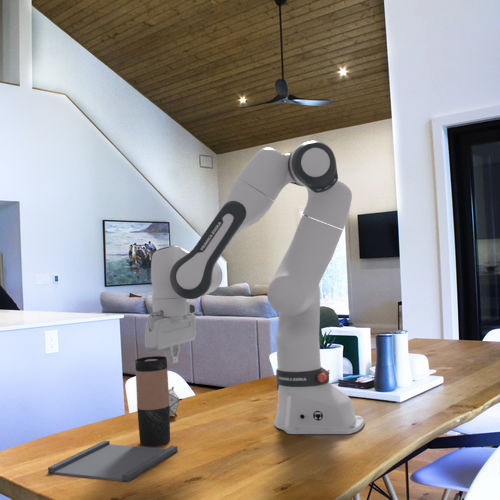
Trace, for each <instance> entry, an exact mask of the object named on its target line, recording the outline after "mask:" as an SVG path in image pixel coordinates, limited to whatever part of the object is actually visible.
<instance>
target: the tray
mask: <svg viewBox="0 0 500 500" xmlns="http://www.w3.org/2000/svg"><path fill="white" fill-rule="evenodd" d="M177 452H178V446H177V445H170V446H169V447H167V448H161V447H158V448H157V447H145V446H134V445H125V444H124V445H123V444H111V443H110V440H102V441H100V442H99V443H96V444H94V445H92V446H90V447H88V448H86V449H84V450H82V451H80V452H78V453H76V454H74V455H71V456H69V457H67V458H65V459H63V460H61V461H58V462H56V463H54V464H53V465H50V466H48V467H47V471H48V472H47V473H48V474H50V475H51V474H52V475H59V476H60V475H61V476H69V477H79V478H80V477H81V478H88V479H89V478H90V479H98V480H107V481H118V482H124V483H125V482H126V483H130V482H131V481H132V480H134V479H136V478H137V477H139V476H141V475H142V474H144V473H145V472H147V471H149V470H150V469H152V468H154V467H156V465H158V464H159V463H161V462H163V461H164V460H167V458H170V457H171V456H173V455H174V454H177Z"/></svg>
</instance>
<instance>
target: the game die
mask: <svg viewBox="0 0 500 500" xmlns="http://www.w3.org/2000/svg"><path fill="white" fill-rule="evenodd" d="M168 389H169V407H170V416H175V417H178V415H177V414H176V412H177V409H178V407H179V403H180V401H182V400H183V398H179V396H178V395H177V394H176V392H175V390H174V389H175V387H174V386H172V387H171V388H168Z"/></svg>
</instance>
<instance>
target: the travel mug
mask: <svg viewBox="0 0 500 500" xmlns="http://www.w3.org/2000/svg"><path fill="white" fill-rule="evenodd" d="M134 362H135V386H136V388H135V389H136V410H137V423H138V424H137V425H138V432H139V433H138V434H139V444H140V446H141V447H149V448H157V447H161V446H165V445H167V444H170V442H171V423H170V422H171V420H170V419H171V417H170V416H171V415H170V407H169V389H170V388H169V375H168V374H169V372H168V364H167V358H166V356H161V355H159V356H158V355H156V356H155V355H154V356H153V355H152V356H145V357H139V358H137V359H135V360H134Z"/></svg>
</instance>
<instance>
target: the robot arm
mask: <svg viewBox="0 0 500 500" xmlns="http://www.w3.org/2000/svg"><path fill="white" fill-rule="evenodd" d="M289 184H292V185H296V186H300V187H305V188H306V190H307V194H308V195H307V202H306V205H305V207H304V209H303V212H302V214H301V217H300V220H299V222H298V225H297V228H296V230H295V232H294V235H293V238H292V240H291V242H290V245H289V246H288V248H287V250H286V252H285V254H284V255H283V258H282V260H281V261H280V263H279V266H278V268H276V269H277V270H276V272H275V273H274V275H273V278H272V280H271V282H270V284H269V286H268V288H267V293H266V295H267V301H268V303H269V305H270V306H271V308H272V309H273V310H274V311H275V312H276V313H278V322H277V331H276V336H275V342H276V343H275V344H276V346H275V347H276V361H277V363H276V364H277V369H276V371H275V373H276V374H275V381H276V382H275V383H276V384H275V385H276V391H277V406H276V407H277V408H276V415H275V421H274V424H273V425H274V427H275V428H278V429H280V430H282V431H284V432H285V433H286V434H288V435H351V434H354V433H356V432H358V431H360V430H361V429H362V428H363V427H364V424H365V421H364V418H363V416H361V415H356V414H355V407H354V405H353V402H352V399H351V398H350V397H349V395H347V394H346V393H344V392H342V390H340V389H339V388H337V387H336V386H334V385H333V384H332V383H331V382H330V374H331V373H330V372H331V371H330V370H331V369H328V370H327V369H325V368H324V367H322V366H321V365H322V364H321V362H322V361H321V346H320V345H321V344H320V324H321V322H320V321H321V319H320V318H321V289H320V283H321V280H322V279H323V277H324V274H325V272H326V271H327V268H328V266H329V264H330V262H331V261H332V259H333V256H334V254H335V251H336V249H337V246H338V244H339V241H340V239H341V236H342V233H343V232H344V228H345V225H346V223H347V220H348V216H349V212H350V209H351V204H352V199H353V195H352V191H351V189H350V187H349V186H347V185H346V184H345V183H344V182H342V181H341V180H340V181H339V175H338V169H337V159H336V157H335V153H334V151H333V150H332V149H331V147H329V145H328V144H326V143H324V142H323V141H322V142H321V141H320V140H319V141H318V140H311V141H310V140H309V141H306V142H303V143H301V144H300V145H298V146H296V147H295V148H294V149H293V150H292V151H290V152H288V153H283V152H281V151H279V150H278V149H275V148H272V147H264V148H261V149H259V150H258V151H257V152H256V153H255V154H254V155H253V157H251V159H250V160H249V161H248V162H247V164H246V165H245V166H244V167H243V169H242V170H241V172H240V173H239V174H238V176H237V178H236V179H235V180H234V183H233V184H232V187H231V188H230V190H229V192H228V194H227V195H226V197H225V200H224V201H223V203H222V205H221V207H220V209H218V210H219V211H218V212H217V214H216V216H215V217H214V219H212V222H211V223H210V224H209V225H208V227H207V229H206V230H205V231H204V232H203V234H202V236H201V237H200V239H199V240H198V242H197V243H196V245H194V247H193V248H192V249H191V250H190V251H188V250H186V249H184V248H183V247H182V246H181V245H170V246H165V247H161V248H158V249H156V250H155V251H154V252H153V253H152V256H151V265H150V279H151V280H150V281H151V286H152V290H153V291H152V297H151V299H152V300H151V302H152V312H150V314H149V316H148V317H147V319H146V320H147V321H146V322H145V327H144V348H145V350H146V351H153V352H154V351H160V350H162V351H163V353H164V355H165V356H164V357H166V358H167V365H173V364H176V363H178V362H179V354H180V351H181V344H185V343H188V342H191V341H192V342H193V341H195V339H196V336H197V321H196V320H197V319H196V315H195V313H197V306H196V305H195V304H194V303H192V302H190V301H189V300H195V299H199V298H201V297H202V296H206V295H209V294H212V293H214V291H216V290H217V289H218V288H219V287H220V285H221V284H222V282H223V272H222V268H221V266H220V265H219V263H218V261H219V259H220V258H221V256H222V254H223V253H224V252H225V250H226V249H227V248H228V246H229V245H230V243H231V242H232V241H233V239H234V238H235V237H236V236H237V234H238V233H239V234H240V232H242V230H244V229H246V228H248V227H250V226H252V225H254V224H256V223H258V222H259V221H260V220H261V219H262V218H263V217H264V216H265V215H266V214H267V213H268V211H269V210H270V209H271V207H272V206H273V205H274V202H275V201H276V199H277V198H278V197H279V195H280V193H281V191H282V190H283V189H284V188H285V187H286V186H287V185H289Z"/></svg>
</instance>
